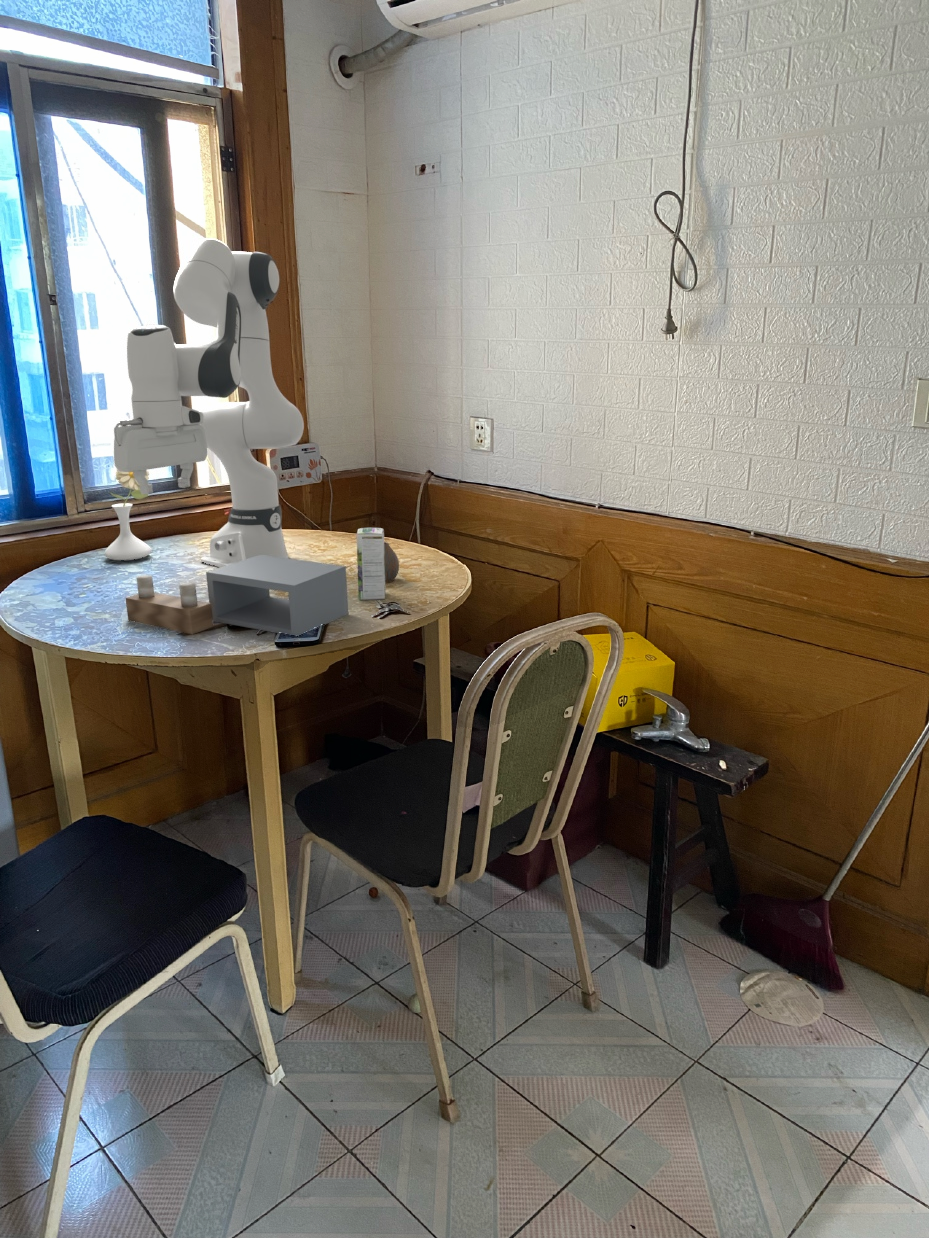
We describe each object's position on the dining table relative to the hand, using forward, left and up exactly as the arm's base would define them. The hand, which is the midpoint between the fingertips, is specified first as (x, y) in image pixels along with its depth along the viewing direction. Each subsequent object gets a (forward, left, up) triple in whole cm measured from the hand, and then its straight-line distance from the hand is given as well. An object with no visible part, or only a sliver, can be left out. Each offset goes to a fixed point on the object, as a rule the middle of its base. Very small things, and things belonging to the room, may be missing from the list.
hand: (166, 490), depth 174 cm
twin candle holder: (-1, -2, -26) cm, 27 cm away
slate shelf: (+16, +11, -26) cm, 33 cm away
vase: (+19, +44, -26) cm, 55 cm away
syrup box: (+24, +32, -26) cm, 48 cm away
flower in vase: (-51, +33, -26) cm, 66 cm away
